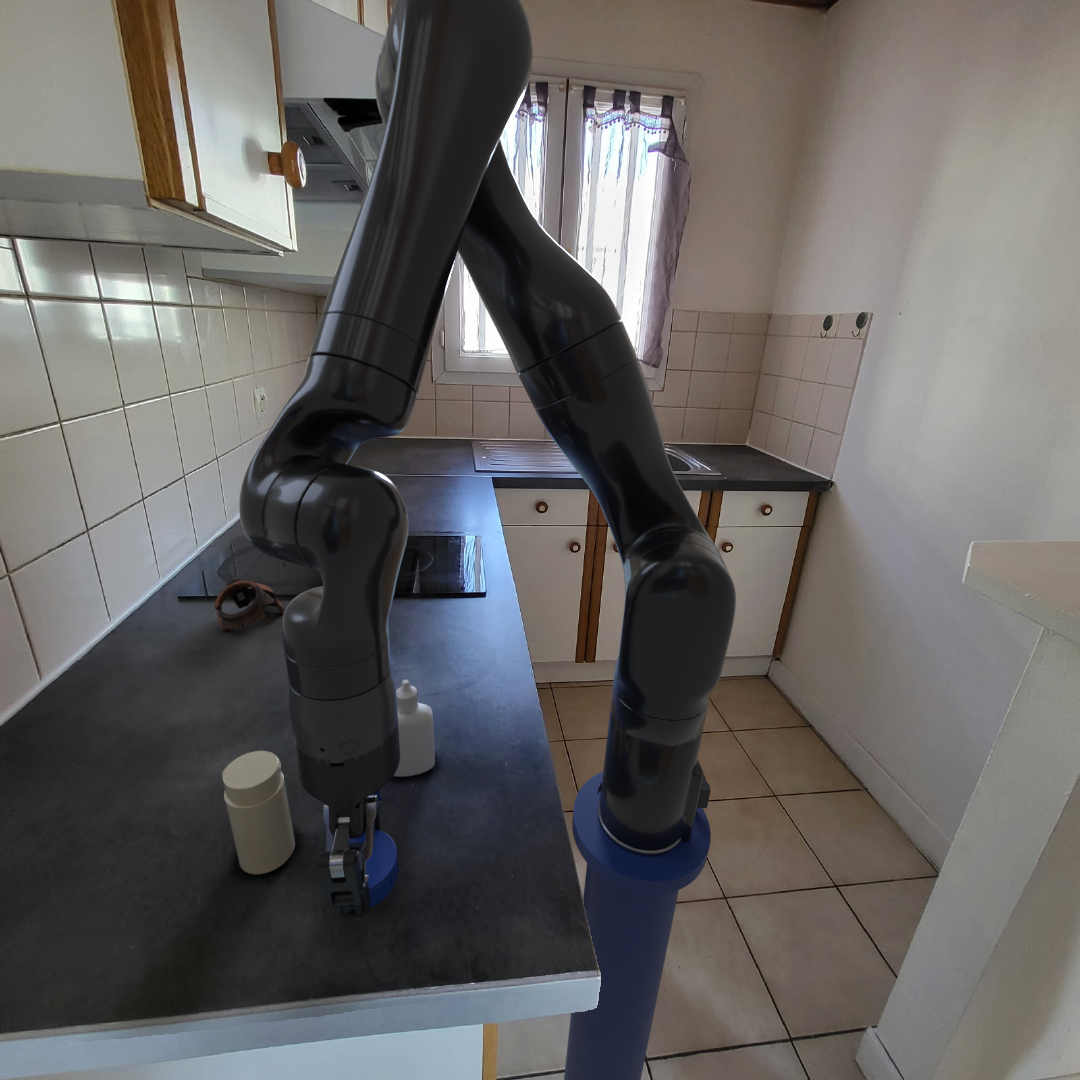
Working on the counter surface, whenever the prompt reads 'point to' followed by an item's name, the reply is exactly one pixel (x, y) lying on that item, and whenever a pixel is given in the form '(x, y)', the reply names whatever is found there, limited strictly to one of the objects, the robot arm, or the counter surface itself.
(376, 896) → the lid
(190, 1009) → the counter surface
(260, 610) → the brown curved piece
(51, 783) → the counter surface
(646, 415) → the robot arm
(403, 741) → the eye dropper bottle
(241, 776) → the jar
